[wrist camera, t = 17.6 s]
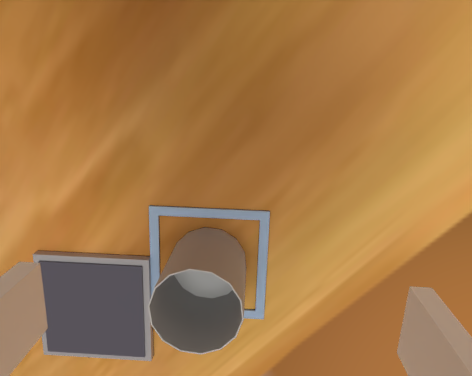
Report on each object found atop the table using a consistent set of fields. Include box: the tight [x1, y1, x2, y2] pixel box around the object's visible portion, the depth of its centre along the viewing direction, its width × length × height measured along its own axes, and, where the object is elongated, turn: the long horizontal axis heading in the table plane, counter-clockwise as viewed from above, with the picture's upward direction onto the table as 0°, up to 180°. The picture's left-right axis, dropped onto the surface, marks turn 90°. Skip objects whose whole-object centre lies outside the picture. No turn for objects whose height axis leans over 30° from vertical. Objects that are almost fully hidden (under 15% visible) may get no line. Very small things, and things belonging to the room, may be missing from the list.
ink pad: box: [33, 251, 154, 361], centre depth 45 cm, size 13×13×1 cm
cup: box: [148, 227, 246, 354], centre depth 39 cm, size 8×8×10 cm
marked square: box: [149, 205, 270, 319], centre depth 44 cm, size 13×13×1 cm
